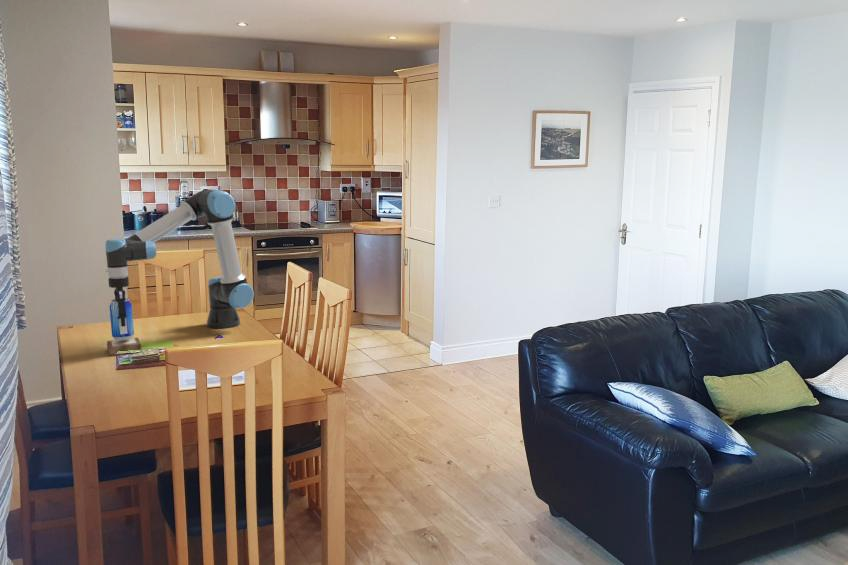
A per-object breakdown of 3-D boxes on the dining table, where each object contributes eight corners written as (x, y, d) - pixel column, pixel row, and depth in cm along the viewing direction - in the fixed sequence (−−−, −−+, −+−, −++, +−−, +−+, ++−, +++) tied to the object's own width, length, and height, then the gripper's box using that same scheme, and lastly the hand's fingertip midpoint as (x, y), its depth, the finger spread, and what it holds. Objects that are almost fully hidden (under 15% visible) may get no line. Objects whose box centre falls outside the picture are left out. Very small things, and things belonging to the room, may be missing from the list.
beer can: (126, 341, 292) (123, 302, 289) (107, 340, 294) (104, 301, 291) (138, 335, 300) (135, 298, 298) (120, 335, 302) (117, 297, 299)
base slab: (138, 345, 306) (137, 336, 305) (141, 352, 295) (140, 342, 295) (107, 349, 301) (106, 339, 300) (109, 356, 290) (108, 346, 289)
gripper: (106, 274, 300) (111, 327, 304) (109, 281, 282) (114, 338, 286) (126, 272, 304) (130, 325, 308) (130, 280, 285) (135, 335, 289)
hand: (122, 331), depth 297 cm, fingers closed on beer can, 8 cm apart
